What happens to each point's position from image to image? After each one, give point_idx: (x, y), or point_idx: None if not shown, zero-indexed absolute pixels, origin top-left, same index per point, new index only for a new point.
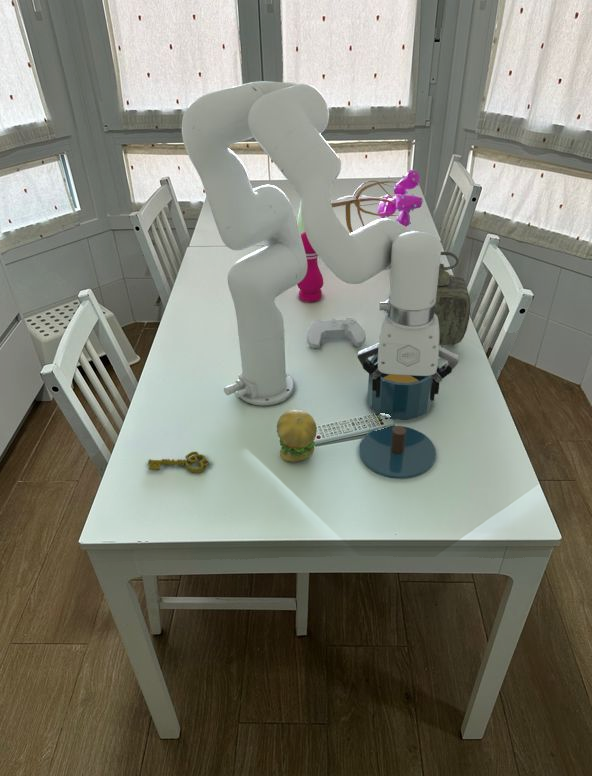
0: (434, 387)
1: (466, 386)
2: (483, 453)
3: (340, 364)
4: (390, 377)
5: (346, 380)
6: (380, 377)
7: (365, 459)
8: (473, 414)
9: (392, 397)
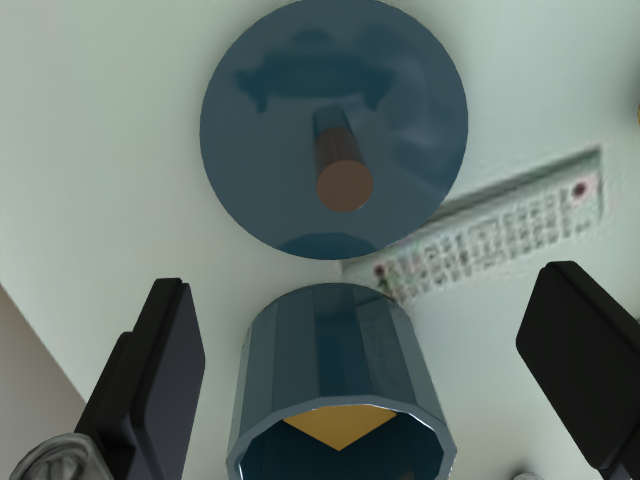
0: (121, 373)
1: None
2: (51, 186)
3: (471, 439)
4: (370, 420)
5: (462, 398)
6: (634, 417)
7: (451, 82)
8: None
9: (367, 347)
